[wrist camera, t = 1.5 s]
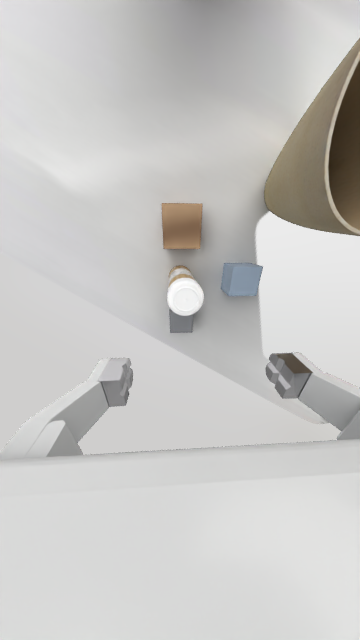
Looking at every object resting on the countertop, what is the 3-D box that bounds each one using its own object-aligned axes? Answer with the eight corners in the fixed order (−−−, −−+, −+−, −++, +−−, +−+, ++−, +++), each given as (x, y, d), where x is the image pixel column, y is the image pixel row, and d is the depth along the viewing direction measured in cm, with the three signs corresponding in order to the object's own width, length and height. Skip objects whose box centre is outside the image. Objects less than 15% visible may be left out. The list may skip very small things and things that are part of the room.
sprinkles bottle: (179, 292, 32) (184, 323, 20) (163, 276, 30) (158, 299, 18) (196, 276, 30) (212, 300, 18) (180, 259, 29) (187, 272, 17)
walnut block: (163, 210, 25) (161, 203, 20) (196, 210, 25) (202, 203, 21) (165, 247, 28) (163, 248, 23) (195, 247, 28) (200, 248, 23)
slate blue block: (224, 263, 29) (233, 266, 25) (249, 262, 30) (262, 266, 25) (220, 288, 32) (228, 296, 27) (244, 288, 32) (256, 295, 28)
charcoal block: (169, 303, 33) (169, 312, 29) (190, 303, 33) (193, 312, 29) (170, 322, 35) (170, 332, 31) (189, 321, 35) (192, 332, 31)
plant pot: (354, 117, 21) (715, -126, 7) (312, 238, 28) (455, 236, 14) (249, 116, 21) (416, -151, 7) (233, 239, 28) (298, 238, 13)
